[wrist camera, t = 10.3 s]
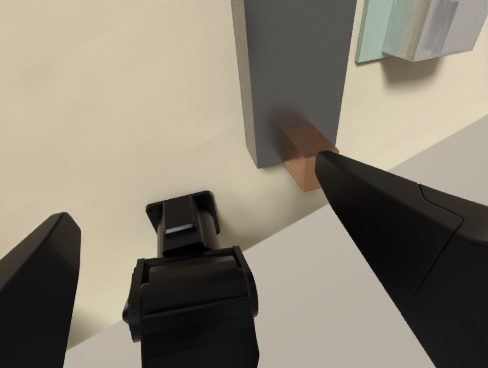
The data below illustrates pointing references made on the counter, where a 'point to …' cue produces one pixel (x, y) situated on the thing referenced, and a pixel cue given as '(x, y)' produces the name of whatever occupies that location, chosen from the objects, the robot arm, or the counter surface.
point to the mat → (373, 30)
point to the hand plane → (292, 79)
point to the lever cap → (433, 27)
